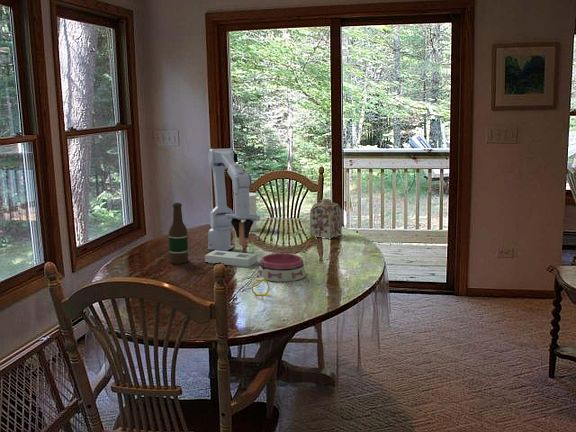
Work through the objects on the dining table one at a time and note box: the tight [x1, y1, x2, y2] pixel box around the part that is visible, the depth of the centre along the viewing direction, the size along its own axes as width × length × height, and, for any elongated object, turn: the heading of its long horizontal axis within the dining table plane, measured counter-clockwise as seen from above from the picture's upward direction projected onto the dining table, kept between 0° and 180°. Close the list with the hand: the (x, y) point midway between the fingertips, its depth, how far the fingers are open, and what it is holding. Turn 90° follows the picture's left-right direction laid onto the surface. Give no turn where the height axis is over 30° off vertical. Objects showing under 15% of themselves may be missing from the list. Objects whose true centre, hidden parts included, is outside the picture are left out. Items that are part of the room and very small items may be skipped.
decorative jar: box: [309, 198, 343, 238], centre depth 288 cm, size 12×12×18 cm
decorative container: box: [241, 192, 259, 232], centre depth 303 cm, size 12×12×18 cm
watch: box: [251, 277, 270, 297], centre depth 201 cm, size 6×3×6 cm, turn 95°
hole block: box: [204, 250, 258, 268], centre depth 243 cm, size 19×9×3 cm, turn 71°
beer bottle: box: [168, 202, 189, 265], centre depth 241 cm, size 8×8×24 cm
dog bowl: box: [256, 252, 307, 284], centre depth 224 cm, size 18×19×7 cm
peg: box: [238, 222, 247, 247], centre depth 241 cm, size 3×3×9 cm
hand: (242, 237), depth 242 cm, fingers closed on peg, 3 cm apart
